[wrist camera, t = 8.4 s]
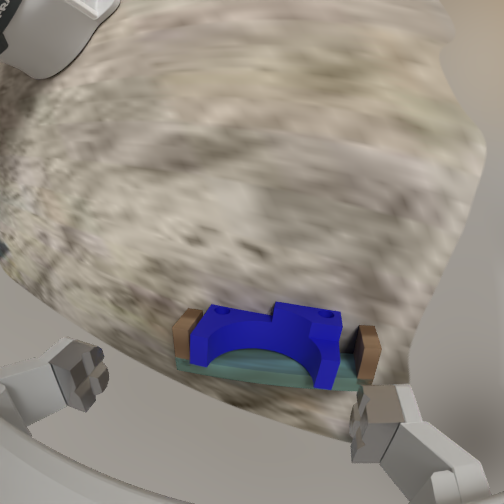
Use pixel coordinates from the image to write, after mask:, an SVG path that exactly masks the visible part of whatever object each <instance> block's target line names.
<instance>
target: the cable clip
mask: <svg viewBox="0 0 504 504" xmlns="http://www.w3.org/2000/svg"><path fill="white" fill-rule="evenodd" d="M342 327H343V326H342V319H341V312H339V311H332V310H325V309H319V308H312V307H306V306H300V305H294V304H288V303H282V302H276V303H275V307H274V312H273V316H271V315H266V314H260V313H255V312H249V311H244V310H238V309H233V308H228V307H223V306H218V305H213V304H211V306H210V307H209V309H208V310H207V312H206V313H205V314H204V316H203V317H202V319H201V320H200V321H199V323H198V324H197V326H196V327H195V329H194V330H193V331H192V333H191V334H190V364H194V365H198V366H202V367H206V368H207V367H208V365H209V364H210V362H211V361H212V360H214V359H215V358H216V357H218V356H220V355H221V354H224V353H226V352H229V351H233V350H237V349H246V348H257V349H266V350H271V351H275V352H278V353H281V354H284V355H286V356H289V357H291V358H293V359H294V360H296V361H297V362H299V363H300V364H301V365H302V366H304V367H305V368H306V370H307V371H308V372H309V374H310V375H311V377H312V380H313V385H314V388H319V389H326V390H331V389H332V387H333V384H334V381H335V377H336V374H337V371H338V368H339V365H340V351H339V338H340V335H341V331H342Z"/></svg>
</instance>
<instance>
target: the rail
mask: <svg viewBox="0 0 504 504" xmlns="http://www.w3.org/2000/svg"><path fill="white" fill-rule="evenodd" d="M202 317H203V310H197V309H190V308H188V309H187V310H186V312H185V313H184V314H183V315H182V316H181V318H180V319H179V320H178V321H177V322H176V324H175V325H174V326H173V327H172V330H173V340H174V349H175V358H176V366H177V370H181V371H186V372H191V373H196V374H201V375H207V376H213V377H219V378H225V379H231V380H238V381H245V382H252V383H260V384H268V385H277V386H286V387H296V388H308V389H319V388H314V385H313V380H312V377H311V375H310V374H309V372H308V371H307V370H306V368H305V367H304V366H302V365H301V364H300V363H299V362H297V361H296V360H294V359H293V358H291V357H289V356H286V355H284V354H281V353H278V352H275V351H271V350H266V349H257V348H246V349H237V350H233V351H229V352H226V353H224V354H221V355H220V356H218V357H216V358H215V359H214V360H212V361H211V362H210V364H209V365H208V367H207V368H206V367H202V366H198V365H194V364H190V334H191V333H192V331H193V330H194V329H195V327H196V326H197V324H198V323H199V321H200V320H201V319H202ZM381 350H382V348H381V345H380V342H379V338H378V335H377V332H376V329H375V326H365V325H359V329H358V334H357V339H356V344H355V349H354V353H353V354H348V353H340V365H339V368H338V371H337V374H336V377H335V381H334V384H333V387H332V389H331V390H339V391H358V388H359V387H360V385H372V382H373V379H374V375H375V372H376V368H377V365H378V361H379V357H380V354H381ZM322 390H326V389H322Z"/></svg>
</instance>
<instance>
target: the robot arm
mask: <svg viewBox="0 0 504 504" xmlns="http://www.w3.org/2000/svg"><path fill="white" fill-rule="evenodd" d="M119 4H120V0H0V62H2V63H5V64H8V65H10V66H13V67H15V68H17V69H19V70H21V71H23V72H24V73H26V74H27V75H29V76H30V77H32V78H34V79H45V78H48V77H51V76H53V75H55V74H56V73H58V72H59V71H61V70H62V69H64V68H65V67H66V66H67V65H68V64H69V63H70V62H71V61H72V60H73V59H74V58H75V57H76V56H77V55H78V54H79V53H80V51H81V50H82V49H83V47H84V46H85V45H86V43H87V42H88V40H89V39H90V37H91V36H92V34H93V33H94V31H95V30H96V28H97V27H98V26H99V24H100V23H102V22H103V21H104V20H105V19H106V18H107V17H108V16H110V15H111V14H112V13H113V12H114V11H115V10H116V8H117V7H118V6H119ZM103 359H104V355H103V351H102V349H101V348H100V347H98V346H95V345H92V344H89V343H85V342H83V341H79V340H75V339H73V338H70V337H63V338H61V339H60V340H59V341H58V342H57V343H55V344H54V345H53V346H52V347H51V348H49V349H48V350H47V351H46V352H45V353H43V354H42V355H41V356H40V357H39V358H35V357H34V358H31V359H28V360H24V361H21V362H17V363H14V364H10V365H6V366H3V367H0V504H193V503H189V502H185V501H182V500H178V499H174V498H170V497H167V496H164V495H161V494H157V493H154V492H151V491H148V490H145V489H142V488H139V487H136V486H134V485H131V484H128V483H125V482H123V481H120V480H117V479H115V478H112V477H110V476H108V475H105V474H103V473H101V472H98V471H96V470H94V469H92V468H89V467H87V466H85V465H83V464H81V463H79V462H76V461H75V460H73V459H70V458H68V457H67V456H65V455H63V454H61V453H59V452H57V451H55V450H53V449H51V448H50V447H48V446H46V445H44V444H43V443H41V442H39V441H37V440H35V439H34V438H32V435H31V433H30V431H29V430H28V428H27V426H29V425H31V424H33V423H35V422H37V421H39V420H41V419H43V418H45V417H47V416H49V415H51V414H53V413H55V412H57V411H59V410H61V409H63V408H65V407H67V405H68V406H70V407H73V408H75V409H78V410H81V411H83V412H87V411H88V410H89V408H90V407H91V406H92V405H93V403H94V402H95V401H96V396H95V395H97V394H100V393H102V392H103V391H104V390H105V388H106V387H107V384H108V381H109V372H108V369H107V367H106V365H105V364H104V363H103V362H102V361H103ZM349 429H350V435H351V436H352V437H353V441H352V444H351V459H352V463H380V466H381V467H382V468H383V469H384V471H385V472H386V473H387V474H388V476H389V477H390V478H391V479H392V481H393V482H394V483H395V484H396V486H397V487H398V488H399V489H400V490H401V491H402V493H403V494H404V495H405V497H406V498H407V499H408V500H409V501H410V502H409V504H504V491H503V492H500V493H498V494H494V495H492V494H491V491H490V488H489V485H488V482H487V479H486V476H485V473H484V470H483V467H482V465H481V462H479V461H478V460H477V459H475V458H474V457H473V456H472V455H470V454H469V453H468V452H466V451H465V450H464V449H462V448H461V447H460V446H459V445H457V444H456V443H454V442H453V441H452V440H450V439H449V438H448V437H447V436H445V435H444V434H443V433H442V432H440V431H439V430H438V429H437V428H435V427H434V426H433V425H431V424H430V423H429V422H423V420H422V417H421V414H420V411H419V408H418V405H417V402H416V399H415V396H414V393H413V390H412V388H411V386H410V385H409V384H393V385H360V387H359V388H358V392H357V403H356V404H354V405H353V408H352V411H351V416H350V426H349Z"/></svg>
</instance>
